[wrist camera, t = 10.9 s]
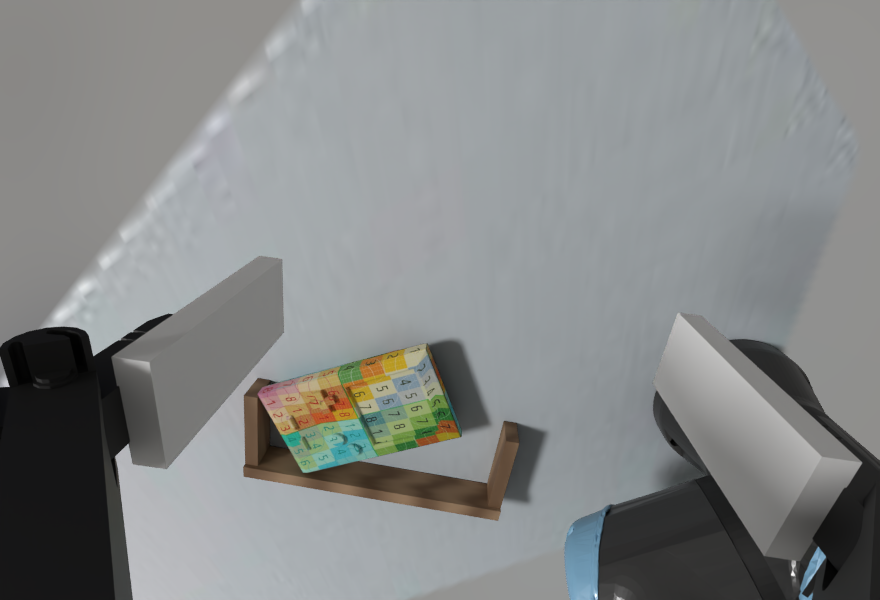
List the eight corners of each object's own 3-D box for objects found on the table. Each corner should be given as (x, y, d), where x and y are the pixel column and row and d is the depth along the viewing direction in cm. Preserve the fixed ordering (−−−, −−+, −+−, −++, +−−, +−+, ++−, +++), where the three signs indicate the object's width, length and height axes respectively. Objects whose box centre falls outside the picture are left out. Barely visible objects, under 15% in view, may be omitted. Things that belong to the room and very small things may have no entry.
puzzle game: (253, 399, 49) (425, 353, 45) (270, 375, 53) (429, 331, 50) (299, 478, 53) (461, 442, 49) (312, 450, 57) (462, 415, 54)
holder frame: (516, 423, 53) (519, 446, 49) (496, 494, 58) (497, 520, 54) (257, 378, 53) (241, 398, 50) (258, 452, 58) (243, 476, 54)
